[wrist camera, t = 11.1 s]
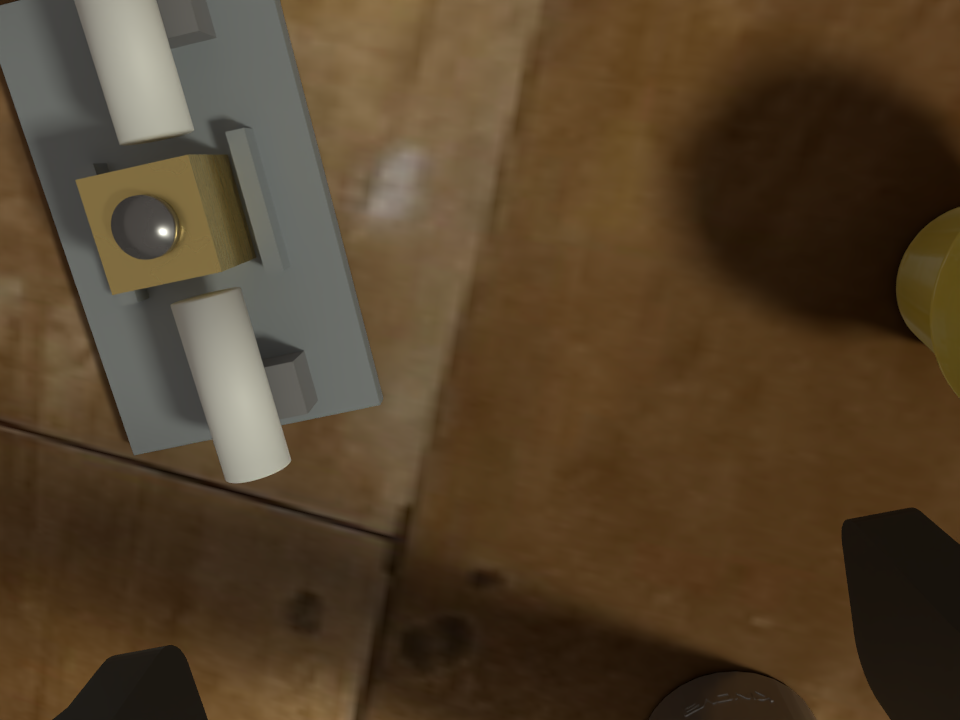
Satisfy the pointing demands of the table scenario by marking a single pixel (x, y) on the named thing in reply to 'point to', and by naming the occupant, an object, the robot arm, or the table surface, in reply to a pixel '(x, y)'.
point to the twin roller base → (265, 200)
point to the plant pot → (934, 291)
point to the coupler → (166, 221)
